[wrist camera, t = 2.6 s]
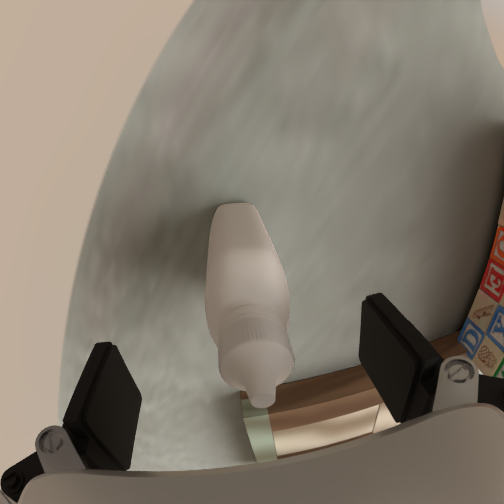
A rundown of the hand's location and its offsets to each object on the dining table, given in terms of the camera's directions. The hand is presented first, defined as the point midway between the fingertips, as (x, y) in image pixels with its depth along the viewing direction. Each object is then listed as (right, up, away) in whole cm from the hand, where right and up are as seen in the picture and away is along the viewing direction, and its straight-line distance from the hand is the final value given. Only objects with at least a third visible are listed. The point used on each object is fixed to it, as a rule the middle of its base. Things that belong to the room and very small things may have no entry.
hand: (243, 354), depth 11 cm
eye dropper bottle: (-1, +4, +8) cm, 9 cm away
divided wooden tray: (+12, -12, +17) cm, 24 cm away
